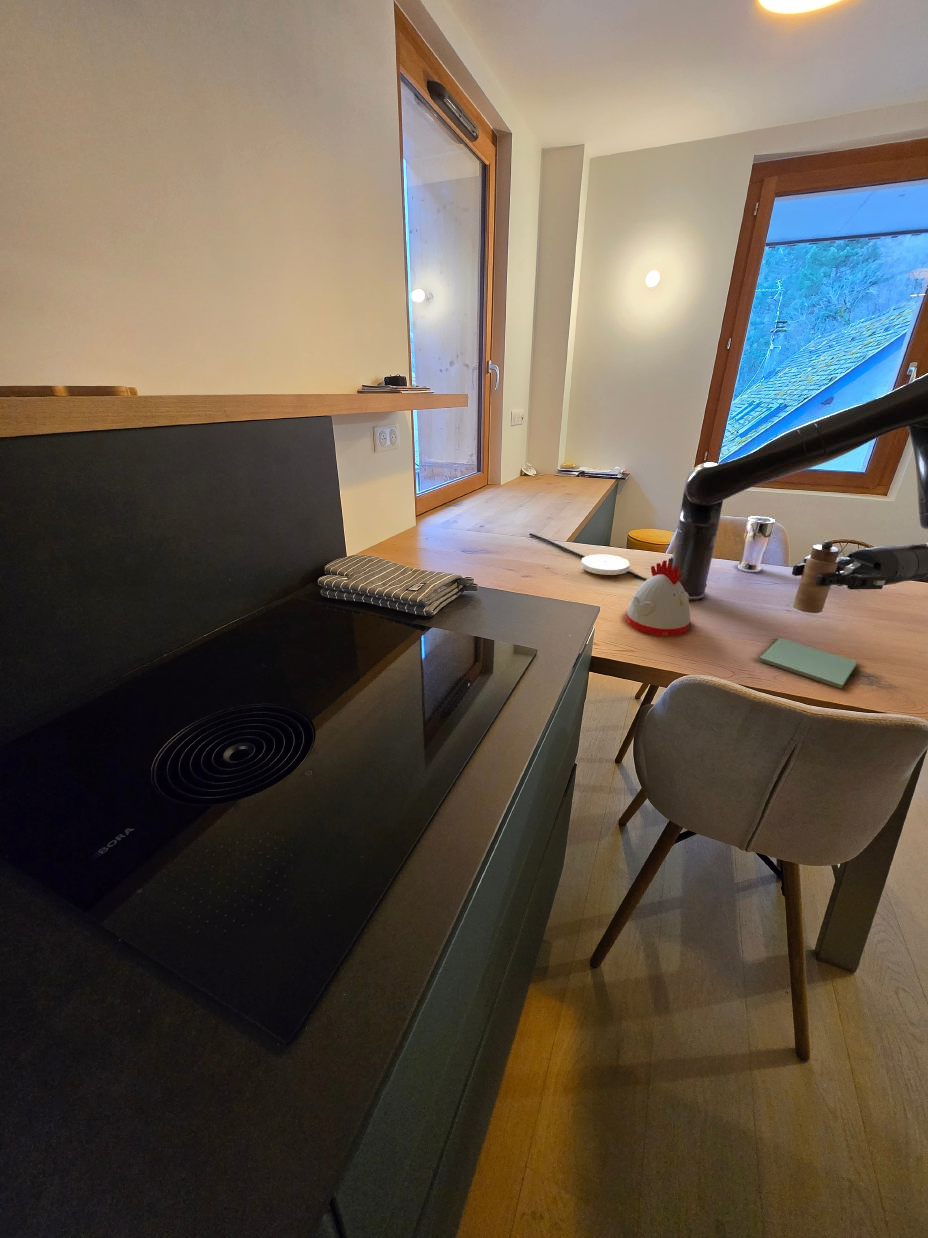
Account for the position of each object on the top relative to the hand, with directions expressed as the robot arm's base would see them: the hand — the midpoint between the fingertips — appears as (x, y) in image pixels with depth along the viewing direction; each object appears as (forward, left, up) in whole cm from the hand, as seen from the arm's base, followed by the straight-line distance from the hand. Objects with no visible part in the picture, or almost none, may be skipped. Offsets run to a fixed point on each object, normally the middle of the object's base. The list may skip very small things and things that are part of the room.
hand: (806, 575), depth 91 cm
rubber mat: (+4, +3, -19) cm, 19 cm away
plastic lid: (-54, +21, -19) cm, 61 cm away
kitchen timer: (-26, -1, -19) cm, 32 cm away
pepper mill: (+1, +2, -7) cm, 7 cm away
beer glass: (-24, +52, -19) cm, 61 cm away
